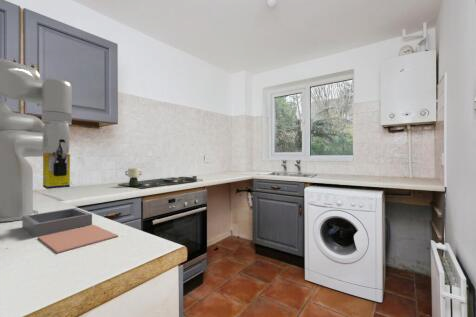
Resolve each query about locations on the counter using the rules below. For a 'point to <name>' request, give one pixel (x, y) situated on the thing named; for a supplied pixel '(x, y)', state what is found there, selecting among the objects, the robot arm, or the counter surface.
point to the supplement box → (48, 173)
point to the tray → (55, 221)
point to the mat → (76, 238)
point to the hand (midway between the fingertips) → (56, 174)
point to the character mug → (133, 176)
